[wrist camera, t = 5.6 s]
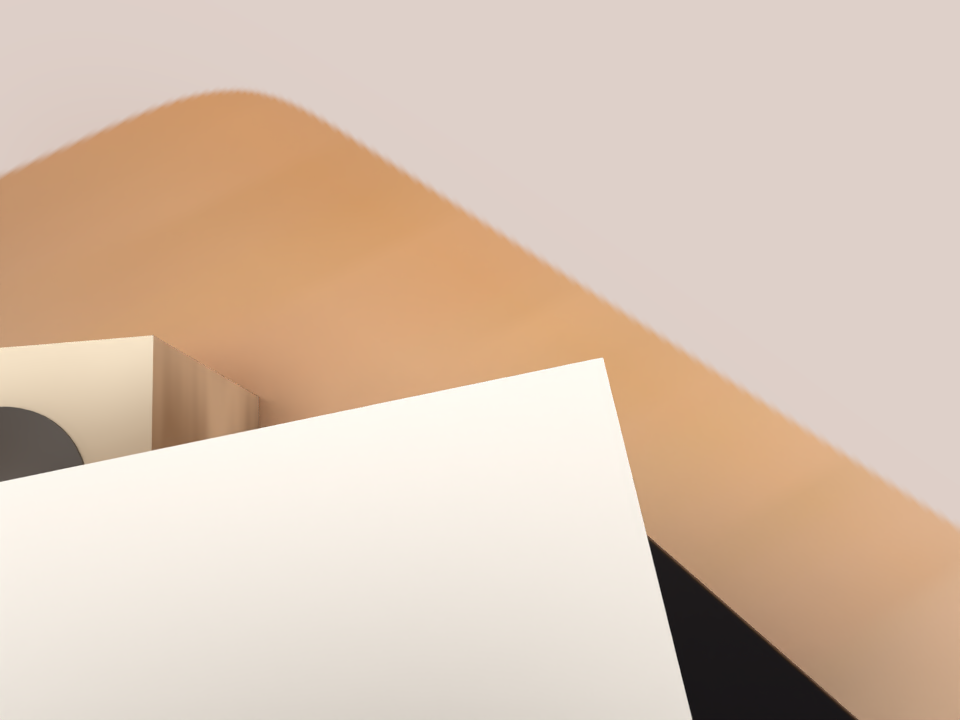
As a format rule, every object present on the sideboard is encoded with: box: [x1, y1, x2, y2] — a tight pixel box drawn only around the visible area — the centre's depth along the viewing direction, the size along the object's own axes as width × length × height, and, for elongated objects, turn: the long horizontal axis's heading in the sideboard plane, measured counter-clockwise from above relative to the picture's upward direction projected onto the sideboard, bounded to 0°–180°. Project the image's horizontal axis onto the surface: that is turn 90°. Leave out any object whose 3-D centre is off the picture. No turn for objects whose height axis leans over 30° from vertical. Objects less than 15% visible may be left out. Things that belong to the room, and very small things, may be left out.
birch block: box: [0, 335, 260, 482], centre depth 19 cm, size 6×6×7 cm
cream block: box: [0, 358, 692, 720], centre depth 9 cm, size 4×5×11 cm
